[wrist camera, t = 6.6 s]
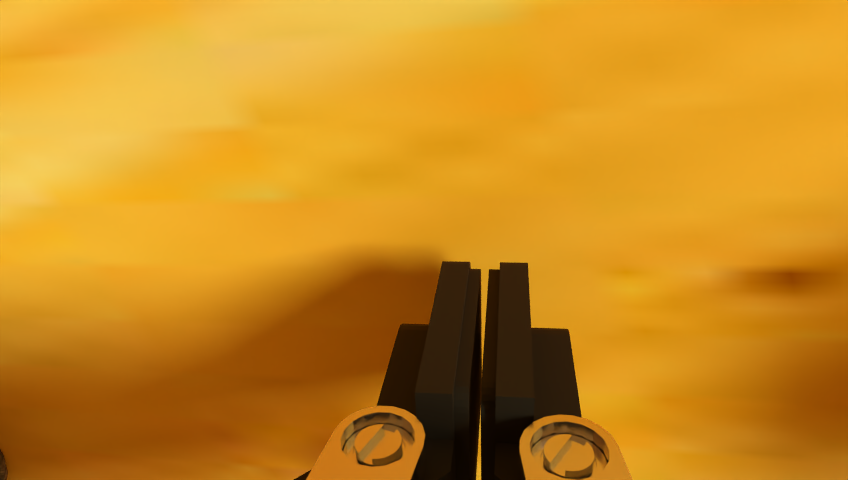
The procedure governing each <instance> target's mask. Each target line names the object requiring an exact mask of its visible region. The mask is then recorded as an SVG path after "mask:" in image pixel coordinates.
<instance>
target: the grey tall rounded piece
mask: <svg viewBox="0 0 848 480" xmlns="http://www.w3.org/2000/svg"><path fill="white" fill-rule="evenodd" d="M6 479H7V468H6V464H5V459H4V456H3V454H2V452H1V450H0V480H6Z"/></svg>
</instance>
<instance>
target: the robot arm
mask: <svg viewBox="0 0 848 480" xmlns="http://www.w3.org/2000/svg"><path fill="white" fill-rule="evenodd" d="M480 408H481V480H632V477H631V475H630V473H629V470H628V468H627V465H626V463H625V461H624V458H623V456H622V453H621V451H620V449H619V446H618V445H617V443H616V441H615V440H614V438H613V437H612V435H611V434H609V433H608V432H607V431H606V430H605V429H604V428H602V427H601V426H600V425H598V424H596V423H594V422H592V421H590V420H588V419H585V418H582V417H581V410H580V403H579V396H578V389H577V383H576V376H575V369H574V362H573V355H572V349H571V342H570V335H569V330H568V329H553V328H531V318H530V298H529V278H528V263H503V262H500V270H495V269H489V279H488V294H487V309H486V324H485V339H484V354H483V369H482V349H481V269H471V267H470V262H445V261H443V262H442V266H441V271H440V276H439V280H438V285H437V290H436V295H435V299H434V304H433V309H432V313H431V318H430V323H429V325H425V324H401V325H400V328H399V330H398V334H397V337H396V341H395V344H394V348H393V351H392V355H391V358H390V362H389V365H388V369H387V372H386V376H385V379H384V382H383V386H382V389H381V393H380V396H379V400H378V403H377V406H375V407H369V408H364V409H362V410H359V411H357V412H354V413H352V414H351V415H349V416H348V417H346V418H345V419H344V420H342V421H341V422H340V424H339V425H338V426H337V427H336V429H335V430H334V431H333V433H332V435H331V437H330V438H329V440H328V442H327V444H326V445H325V447H324V449H323V451H322V452H321V454H320V456H319V458H318V459H317V461H316V463H315V465H314V466H313V468H312V470H310V471H308V472H306V473H305V474H303V475H301V476H299V477H298V478H296V479H294V480H476V469H477V454H478V439H479V423H480Z"/></svg>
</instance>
